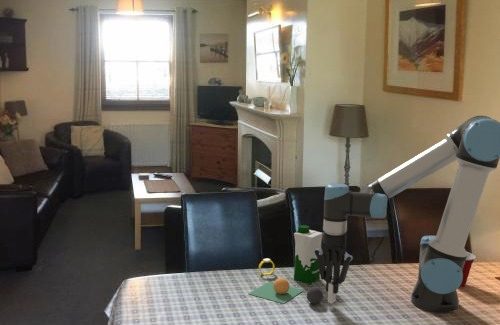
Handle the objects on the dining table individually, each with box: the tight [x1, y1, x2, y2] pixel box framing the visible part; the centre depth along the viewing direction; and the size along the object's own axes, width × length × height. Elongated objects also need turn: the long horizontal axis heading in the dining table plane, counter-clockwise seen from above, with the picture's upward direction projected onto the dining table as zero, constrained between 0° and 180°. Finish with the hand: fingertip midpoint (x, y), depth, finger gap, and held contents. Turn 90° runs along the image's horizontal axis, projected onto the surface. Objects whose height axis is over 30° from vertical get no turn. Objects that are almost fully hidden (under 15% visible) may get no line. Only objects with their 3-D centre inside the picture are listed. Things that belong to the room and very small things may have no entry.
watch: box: [258, 257, 276, 276], centre depth 212 cm, size 6×3×6 cm, turn 106°
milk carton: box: [293, 224, 323, 285], centre depth 206 cm, size 9×9×20 cm
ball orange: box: [273, 277, 290, 294], centre depth 194 cm, size 6×6×6 cm
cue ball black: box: [306, 286, 324, 305], centre depth 187 cm, size 6×6×6 cm
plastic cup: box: [459, 251, 477, 288], centre depth 206 cm, size 11×11×12 cm
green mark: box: [248, 281, 304, 305], centre depth 196 cm, size 14×14×1 cm
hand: (331, 301), depth 184 cm, fingers closed
